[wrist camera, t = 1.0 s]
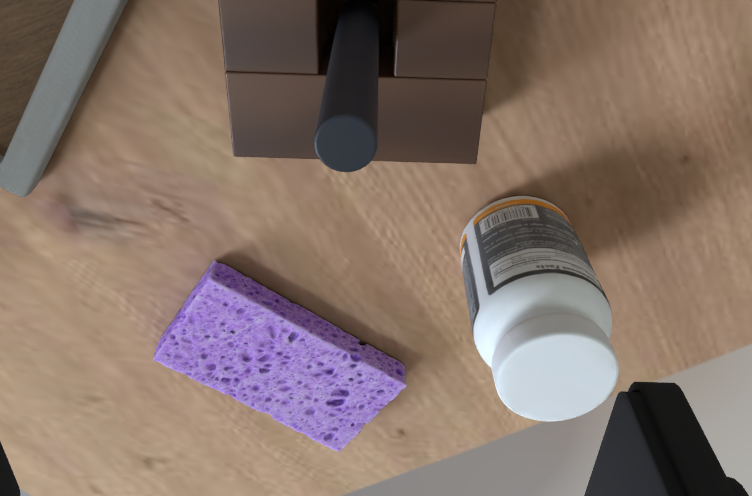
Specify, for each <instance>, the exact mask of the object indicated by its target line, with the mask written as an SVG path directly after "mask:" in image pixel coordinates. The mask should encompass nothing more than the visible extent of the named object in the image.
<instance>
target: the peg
mask: <svg viewBox="0 0 752 496" xmlns="http://www.w3.org/2000/svg"><path fill="white" fill-rule="evenodd" d="M378 73H379V12H378V9H377V7H376V5H375V4H374V3H373V2H372V1H371V0H346V1H345V2H344V3H343V5H342V6H341V9H340V12H339V17H338V22H337V27H336V32H335V37H334V42H333V46H332V51H331V56H330V61H329V66H328V71H327V76H326V81H325V86H324V91H323V96H322V101H321V106H320V111H319V116H318V120H317V125H316V130H315V135H314V148H315V151H316V154H317V155H318V157H319V159H320V160H321V161H322V162H323V163H324V164H325V165H326V166H328V167H330V168H331V169H334V170H336V171H340V172H352V171H356V170H359V169H361V168H363V167H365V166H366V165H367V164H369V163H370V162H371V160H372V159H373V158H374V156H375V154H376V151H377V145H378Z"/></svg>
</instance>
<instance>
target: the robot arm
mask: <svg viewBox="0 0 752 496" xmlns="http://www.w3.org/2000/svg"><path fill="white" fill-rule="evenodd" d="M0 496H20V489H19V486H18V483H17V481H16V479H15V476H14V474H13V471H12V469H11V466H10V464H9V462H8V459H7V457H6V454H5V452H4V450H3V447H2V445H1V442H0ZM584 496H749V495H748V494H747V492H746V491H745V489H744V488H743V486H742V485H741V484H740V483H739V482H737V481H736V480H735V479H734V478H730V477H726V475H725V473H724V471H723V469H722V467H721V465H720V463H719V461H718V459H717V457H716V455H715V453H714V451H713V450H712V448H711V446H710V444H709V442H708V440H707V438H706V436H705V434H704V432H703V430H702V428H701V426H700V424H699V422H698V421H697V419H696V417H695V415H694V413H693V411H692V409H691V407H690V405H689V403H688V401H687V399H686V397H685V395H684V393H683V392H682V390H681V388H680V387H679V386H678V385H676V384H675V383H657V382H634V383H633V384H631V386H630V388H629V390H628V392H620V393H618V395H617V398H616V401H615V404H614V407H613V410H612V413H611V416H610V419H609V422H608V425H607V428H606V431H605V434H604V437H603V440H602V443H601V446H600V450H599V453H598V456H597V459H596V462H595V465H594V468H593V471H592V474H591V477H590V480H589V483H588V486H587V489H586V492H585V495H584Z"/></svg>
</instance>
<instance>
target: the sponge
mask: <svg viewBox="0 0 752 496" xmlns="http://www.w3.org/2000/svg"><path fill="white" fill-rule="evenodd" d="M359 342H360V340H359V339H357V338H355V337H354V336H352V335H350V334H348V333H345V332H343V331H342V330H341V329H340V328H338V327H337V326H335V325H333V324H331V323H329V322H328V321H326V320H324V319H322V318H321V317H319V316H317V315H316V314H314V313H312V312H310V311H308V310H307V309H305V308H303V307H301V306H300V305H298V304H295V303H290V302H289V300H288V299H286V298H284V297H282V296H280V295H278V294H276V293H275V292H273V291H271V290H269V289H267V288H266V287H265V286H262V285H260V284H258V283H257V282H255V281H254V280H252V279H251V278H249V277H246V276H243V275H242V274H241V273H239V272H237V271H236V270H235V269H233V268H231V267H229V266H226V265H225V264H219V263H217V262H216V261H213V262H212V264H211V265H210V266H209V268H208V269H207V271H206V272H205V273H204V275H203V276H202V278H201V280H200V281H199V283H198V284H197V286H196V287H195V288H194V289H193V290H192V292H191V294H190V295H189V297H188V299H187V300H186V301H185V302H184V305H183V307H182V309H180V310H179V312H178V314H177V315H176V316H175V318H174V320H173V321H172V322H171V324H170V325H169V327H168V328H167V329H166V331H165V332H164V334H163V335H162V337H161V338H160V340H159V343H158V345H157V348H156V352H155V354H154V355H155V356H154V358H153V360H154V361H156V362H160V363H161V364H162V365H164V366H167V367H168V368H170V369H173V370H175V371H177V372H179V373H184V374H186V375H188V376H189V377H190V378H192V379H194V380H196V381H197V382H199V383H202V384H203V385H207V386H210V387H211V388H213V389H216V390H219V391H221V392H222V393H223V394H230V395H232V397H233V398H234V399H235V400H238V401H240V402H241V403H244V404H245V405H247V406H249V407H251V408H253V409H255V410H257V411H259V412H264V413H268V414H271V417H272V418H273V419H276V420H277V421H279V422H281V423H282V424H284V425H286V426H289V427H291V428H292V429H294V430H296V431H297V432H300V433H301V432H303V433H304V434H305V435H307V436H309V437H310V438H311V439H313V440H315V441H317V442H319V443H322V444H323V445H325V446H327V447H329V448H331V449H333V450H336V451H338V452H340V451H341V449H343V448H344V447H345V446H346V445H347V444H348V443H349V441H350V440H352V439H353V438H354V437H355V436H356V435H357V434H358V433H359V432H360V431H361V430H362V427H363V425H364V424H365V423H370V421H371V420H372V419H373V418H374V417H375V416H376V415H377V414H378V413H379V411H380V409H381V408H384V407H385V405H386V404H388V403H389V401H390V400H393V399H394V398H395V397H396V396H397V395H398V394H399V393H400V391H401V390H403V389H404V388H405V387H406V386H407V383H406V378H405V377H404V376H405V374H406V373H405V370H404V369H405V365H404V364H402V363H401V362H399V361H397V360H396V359H394V358H392V357H389V356H387V355H386V354H385V353H383V352H381V351H379V350H377V349H375V348H374V347H372V346H370V345H368V344H366V345H364V346H361V345H359Z"/></svg>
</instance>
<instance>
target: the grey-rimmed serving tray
mask: <svg viewBox="0 0 752 496" xmlns="http://www.w3.org/2000/svg"><path fill="white" fill-rule="evenodd" d="M127 1H128V0H0V187H1V188H3V189H5V190H7V191H9V192H11V193H13V194H15V195H18V196H20V197H25V196H27V195H28V194H30V192H31V191H32V190H33V189H34V188H35V187H36V185H37V184H38V182H39V180H40V179H41V177H42V175H43V173H44V171H45V169H46V166H47V164H48V162H49V160H50V158H51V156H52V154H53V152H54V150H55V148H56V146H57V144H58V142H59V140H60V138H61V136H62V134H63V132H64V130H65V128H66V126H67V124H68V122H69V120H70V118H71V116H72V113H73V111H74V109H75V107H76V105H77V103H78V101H79V99H80V97H81V95H82V93H83V91H84V89H85V87H86V85H87V83H88V81H89V79H90V77H91V75H92V73H93V71H94V69H95V67H96V65H97V63H98V61H99V58H100V56H101V54H102V52H103V50H104V48H105V46H106V44H107V42H108V40H109V38H110V36H111V34H112V32H113V30H114V28H115V26H116V24H117V22H118V20H119V18H120V16H121V14H122V12H123V10H124V8H125V5H126V3H127Z"/></svg>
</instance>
